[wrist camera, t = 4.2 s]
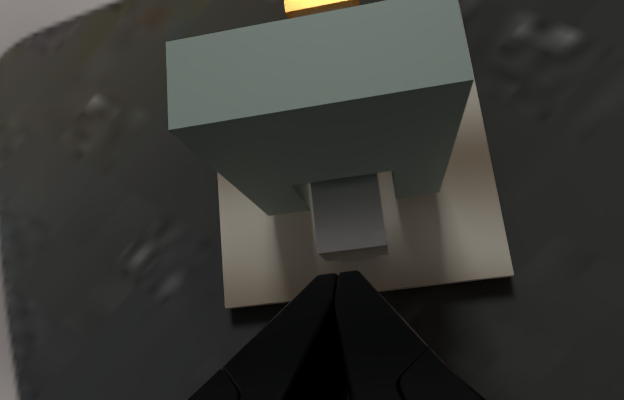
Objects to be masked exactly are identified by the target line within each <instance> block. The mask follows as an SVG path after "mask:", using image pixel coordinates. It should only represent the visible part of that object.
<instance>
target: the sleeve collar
mask: <svg viewBox="0 0 624 400" xmlns="http://www.w3.org/2000/svg"><path fill="white" fill-rule="evenodd" d="M166 63H167V94H168V126H169V131H170V132H172V133H173V134H174V135H175V136H176V137H177V138H179V139H180V140H181V141H182V142H183V143H184V144H186V145H187V146H188V147H189V148H190V149H191V150H193V151H194V152H195V153H196V154H197V155H198V156H200V157H201V158H202V159H203V160H204V161H205V162H207V163H208V164H209V165H210V166H211V167H212V168H214V169H215V170H216V171H217V172H218V173H219V174H220V175H222V176H223V177H224V178H225V179H226V180H227V181H229V182H230V183H231V184H232V185H233V186H234V187H236V188H237V189H238V190H239V191H240V192H241V193H243V194H244V195H245V196H246V197H247V198H248V199H250V200H251V201H252V202H253V203H254V204H255V205H257V206H258V207H259V208H260V209H261V210H262V211H264V212H265V213H266V214H267V215H268V216H272V215H279V214H286V213H294V212H301V211H308V210H310V205H309V196H308V186H307V183H311V182H318V181H325V180H332V179H339V178H346V177H352V176H359V175H366V174H373V173H380V172H387V171H391V172H392V179H393V186H394V193H395V198H402V197H410V196H417V195H424V194H431V193H439V192H440V189H441V186H442V182H443V179H444V176H445V173H446V169H447V166H448V163H449V160H450V156H451V153H452V150H453V146H454V143H455V140H456V137H457V133H458V130H459V127H460V124H461V120H462V117H463V114H464V110H465V107H466V104H467V101H468V97H469V94H470V91H471V87H472V84H473V81H474V77H473V72H472V67H471V62H470V58H469V53H468V48H467V43H466V38H465V33H464V28H463V23H462V18H461V13H460V8H459V3H458V0H386V1H381V2H376V3H370V4H365V5H360V6H354V7H349V8H344V9H339V10H333V11H328V12H323V13H317V14H312V15H307V16H302V17H296V18H291V19H286V20H280V21H275V22H270V23H265V24H259V25H254V26H249V27H243V28H238V29H233V30H227V31H222V32H217V33H212V34H206V35H201V36H196V37H190V38H185V39H180V40H175V41H169V42H166Z"/></svg>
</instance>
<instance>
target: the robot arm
mask: <svg viewBox="0 0 624 400" xmlns="http://www.w3.org/2000/svg"><path fill="white" fill-rule="evenodd" d="M348 393H349V398H350V400H486V399H485V398H483V397H482V396H481V395H480V394H478V393H477V392H476V391H475V390H474V389H473V388H471V387H470V386H469V385H468V384H467V383H465V382H464V381H463V380H462V379H461V378H460V377H459V376H458V375H457V374H456V373H455V372H454V371H452V370H451V369H450V368H449V367H448V366H447V365H446V364H445V363H444V362H443V361H442V359H441V358H440V357H439V356H438V355H437V354H436V353H435V352H434V351H433V350H432V349H430V347H429V346H428V345H427V344H426V343H425V342H424V341H423V340H422V339H421V338H420V336H419V335H418V334H417V333H416V332H415V331H414V330H413V329H412V328H411V327H410V326H409V325H408V323H407V322H406V321H405V320H404V319H403V318H402V317H401V316H400V315H399V314H398V313H397V311H396V310H395V309H394V308H393V307H392V306H391V305H390V304H389V303H388V302H387V301H386V300H385V298H384V297H383V296H382V295H381V294H380V293H379V292H378V291H377V290H376V289H375V288H374V287H373V285H372V284H371V283H370V282H369V281H368V280H367V279H366V278H365V277H364V276H363V275H362V274H361V272H360V271H358V270H354V271H346V272H340V273H339V275H337V274H336V273H329V274H321V275H318V276H316V277H315V278H314V279H313V280H312V281H311V282H310V283H309V284H308V285H307V286H306V287H305V288H304V289H303V290H302V291H301V292H300V293H299V294H297V295H296V296H295V297H294V298H293V299H292V300H291V301H290V302H289V303H288V304H287V305H286V306H285V307H284V308H283V309H282V310H281V311H280V312H279V313H278V314H277V315H276V316H275V317H274V318H273V319H272V320H271V321H270V322H269V323H268V324H267V325H266V326H265V327H264V328H263V329H262V330H261V331H260V332H259V333H258V334H257V335H256V336H254V337H253V338H252V339H251V340H250V341H249V342H248V343H247V344H246V345H245V346H244V347H243V348H242V349H241V350H240V351H239V352H238V353H237V354H236V355H235V356H234V357H233V358H232V359H231V360H230V361H229V362H228V363H227V364H226V365H225V366H224V367H223V370H222V369H220V370H219V371H218V372H217V373H216V374H215V375H214V376H213V377H211V378H210V379H209V380H208V381H207V382H206V383H205V384H204V385H203V386H202V387H201V388H200V389H199V390H198V391H197V392H195V393H194V394H193V395H192V396H191V397H190V398H189V399H188V400H347V394H348Z"/></svg>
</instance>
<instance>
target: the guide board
mask: <svg viewBox="0 0 624 400" xmlns="http://www.w3.org/2000/svg"><path fill="white" fill-rule="evenodd" d="M458 3H459V2H458ZM459 8H460V6H459ZM460 13H461V11H460ZM461 18H462V15H461ZM462 23H463V20H462ZM463 28H464V25H463ZM464 33H465V30H464ZM465 38H466V35H465ZM466 43H467V40H466ZM467 48H468V45H467ZM468 53H469V50H468ZM469 58H470V55H469ZM470 62H471V60H470ZM471 67H472V65H471ZM472 72H473V70H472ZM473 77H474V75H473ZM217 174H218V192H219V209H220V227H221V244H222V262H223V280H224V297H225V308H227V309H234V308H242V307H251V306H260V305H269V304H277V303H286V302H290V301H291V300H292V299H293V298H294V297H295V296H296V295H297V294H299V293H300V292H301V291H302V290H303V289H304V288H305V287H306V286H307V285H308V284H309V283H310V282H311V281H312V280H313V279H314V278H315V277H316V276H318V275H321V274H329V273H336V274H337V275H339V273H340V272H346V271H354V270H358V271H360V272H361V274H362V275H363V276H364V277H365V278H366V279H367V280H368V281H369V282H370V283H371V284H372V285H373V287H374V288H375V289H376V290H377V291H378V292H382V291H391V290H399V289H408V288H417V287H426V286H434V285H443V284H452V283H460V282H469V281H478V280H487V279H495V278H504V277H511V276H513V275H514V272H513V268H512V263H511V258H510V253H509V248H508V243H507V238H506V233H505V228H504V223H503V218H502V213H501V208H500V203H499V198H498V193H497V188H496V183H495V179H494V174H493V169H492V164H491V159H490V154H489V149H488V144H487V139H486V134H485V129H484V124H483V119H482V114H481V109H480V104H479V99H478V95H477V90H476V85H475V80H474V81H473V84H472V87H471V91H470V94H469V97H468V101H467V104H466V107H465V110H464V114H463V117H462V120H461V124H460V127H459V130H458V133H457V137H456V140H455V143H454V146H453V150H452V153H451V156H450V160H449V163H448V166H447V169H446V173H445V176H444V179H443V182H442V186H441V189H440V192H439V193H431V194H424V195H417V196H410V197H402V198H395V193H394V186H393V179H392V172H391V171H387V172H380V173H377V176H378V183H379V191H380V198H381V205H382V212H383V219H384V226H385V233H386V240H387V247H388V255H381V256H377V259H370V260H362V261H354V262H345V263H343V262H342V261H341V260H340V261H332V262H326V261H325V260H324V259H323V258H322V257H321V256H320V255H319V254H318V250H317V241H316V231H315V222H314V212H313V203H312V193H311V184H310V183H307V186H308V196H309V205H310V210H308V211H301V212H294V213H286V214H279V215H272V216H268V215H267V214H266V213H265V212H264V211H262V210H261V209H260V208H259V207H258V206H257V205H255V204H254V203H253V202H252V201H251V200H250V199H248V198H247V197H246V196H245V195H244V194H243V193H241V192H240V191H239V190H238V189H237V188H236V187H234V186H233V185H232V184H231V183H230V182H229V181H227V180H226V179H225V178H224V177H223V176H222V175H220V174H219V173H218V172H217Z"/></svg>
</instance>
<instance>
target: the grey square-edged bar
mask: <svg viewBox="0 0 624 400" xmlns="http://www.w3.org/2000/svg"><path fill="white" fill-rule="evenodd" d="M284 2H285V12H286V15H287V18H288V19H291V18H296V17H302V16H307V15H312V14H317V13H323V12H328V11H333V10H339V9H344V8H349V7H354V6H360V4H359V0H284ZM310 184H311V193H312V203H313V212H314V222H315V231H316V241H317V250H318V254H319V255H320V256H321V257H322V258H323V259H324V260H325V261H326V262H332V261H340V260H341V261H342V262H343V263H345V262H354V261H362V260H370V259H377V256H381V255H388V247H387V240H386V233H385V226H384V219H383V212H382V205H381V198H380V191H379V183H378V176H377V173H373V174H366V175H359V176H352V177H346V178H339V179H332V180H325V181H318V182H311V183H310Z"/></svg>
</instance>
